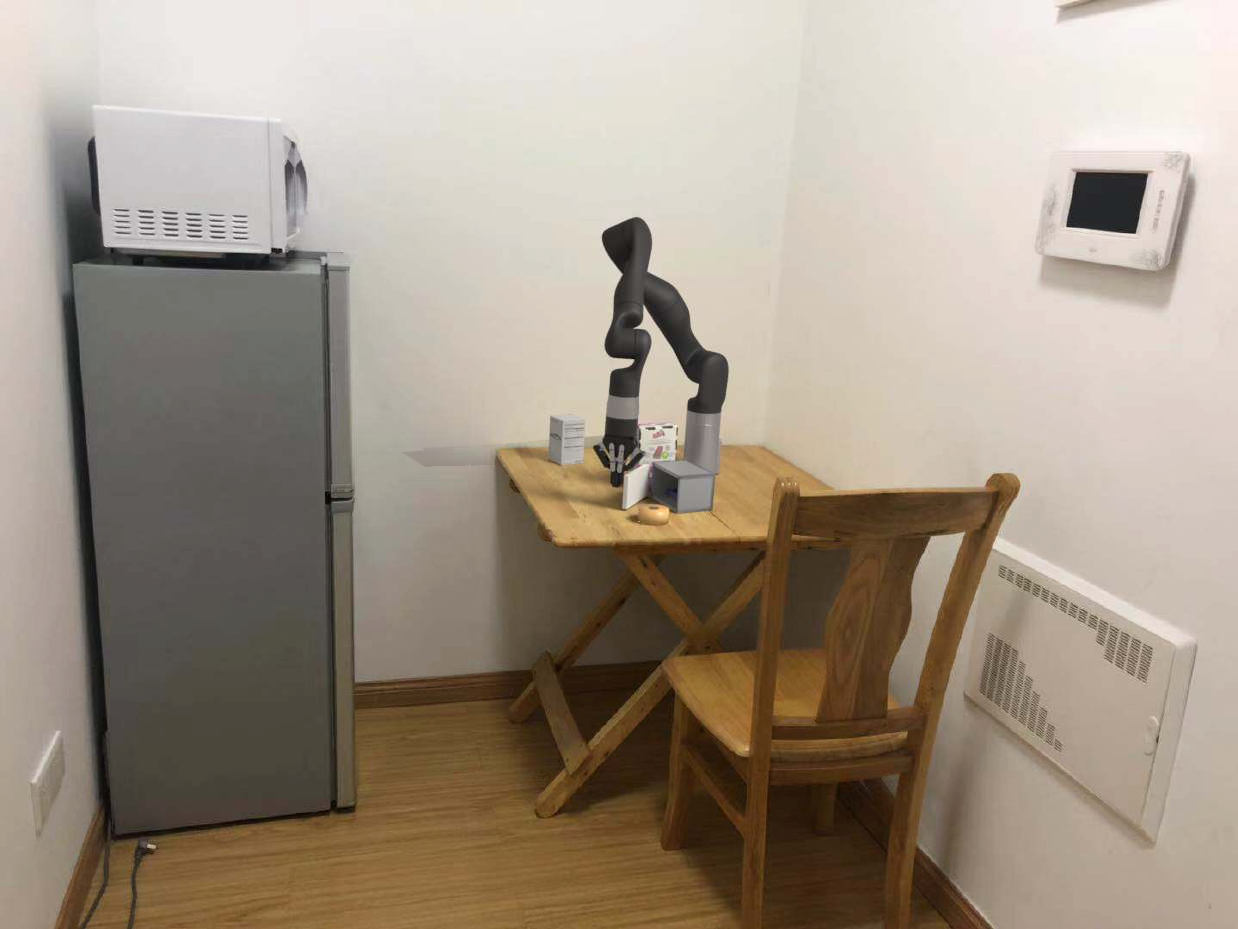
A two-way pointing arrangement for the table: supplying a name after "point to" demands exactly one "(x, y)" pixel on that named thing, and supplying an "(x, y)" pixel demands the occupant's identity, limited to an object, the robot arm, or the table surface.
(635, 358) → the robot arm
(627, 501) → the cover
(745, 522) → the table surface
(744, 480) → the table surface
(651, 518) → the tan donut
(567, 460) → the supplement box
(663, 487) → the box
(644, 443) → the candy bar box
